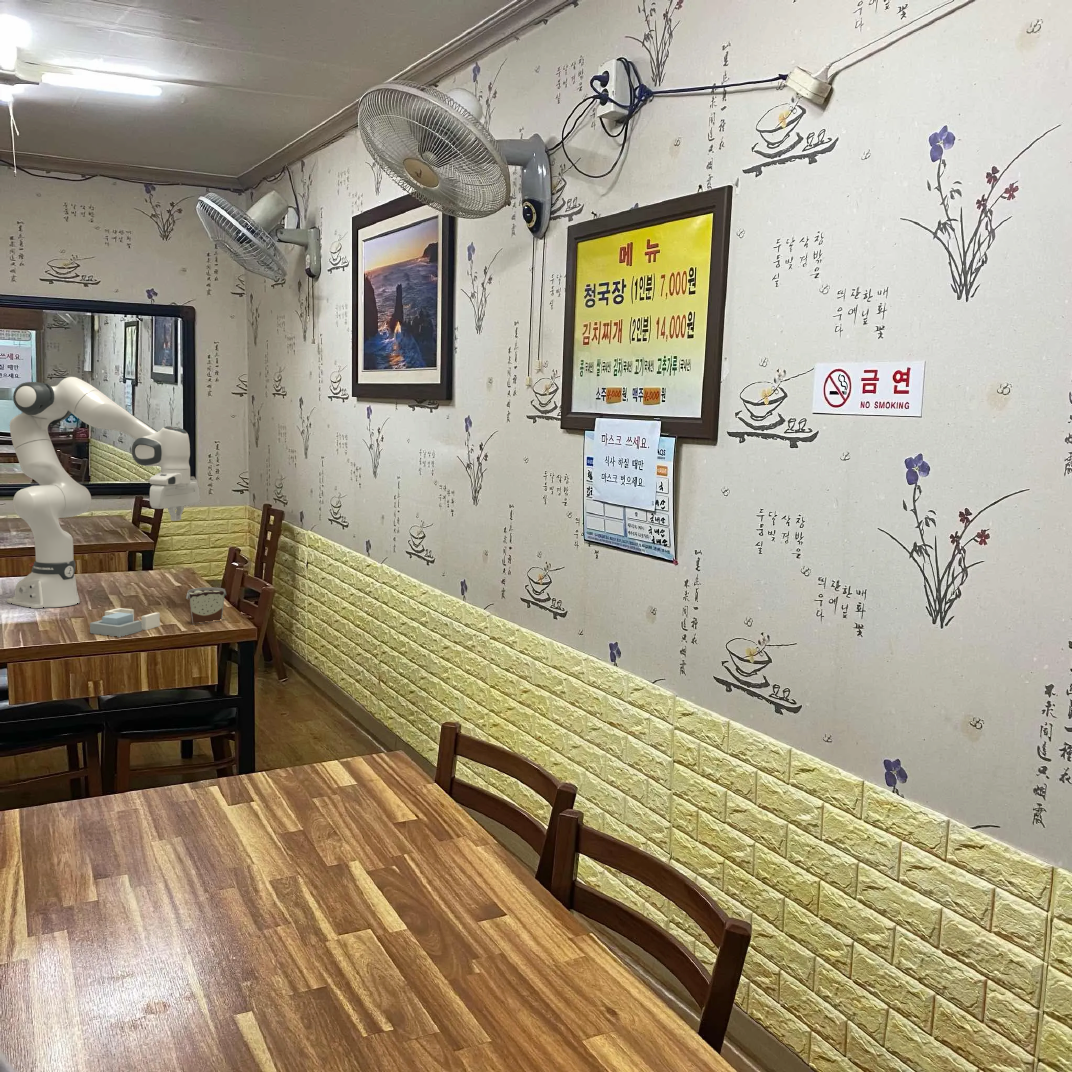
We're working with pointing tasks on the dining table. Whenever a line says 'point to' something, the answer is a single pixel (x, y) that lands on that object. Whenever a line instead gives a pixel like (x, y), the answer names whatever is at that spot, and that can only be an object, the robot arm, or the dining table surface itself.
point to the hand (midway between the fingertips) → (176, 520)
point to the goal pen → (115, 628)
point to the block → (117, 618)
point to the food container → (206, 604)
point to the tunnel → (147, 620)
